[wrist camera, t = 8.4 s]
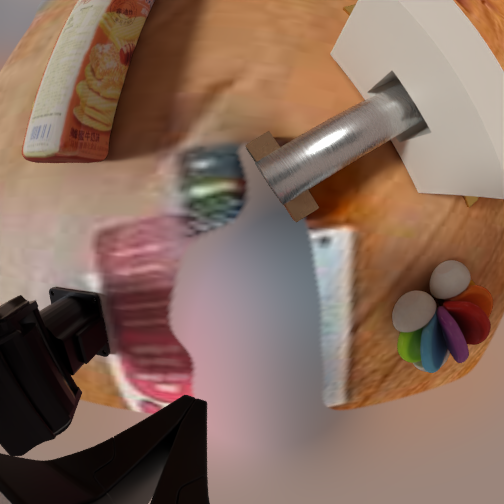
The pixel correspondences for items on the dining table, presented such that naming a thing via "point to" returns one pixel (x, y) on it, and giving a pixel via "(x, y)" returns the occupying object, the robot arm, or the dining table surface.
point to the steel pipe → (332, 146)
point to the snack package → (84, 82)
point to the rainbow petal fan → (442, 318)
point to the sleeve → (433, 90)
